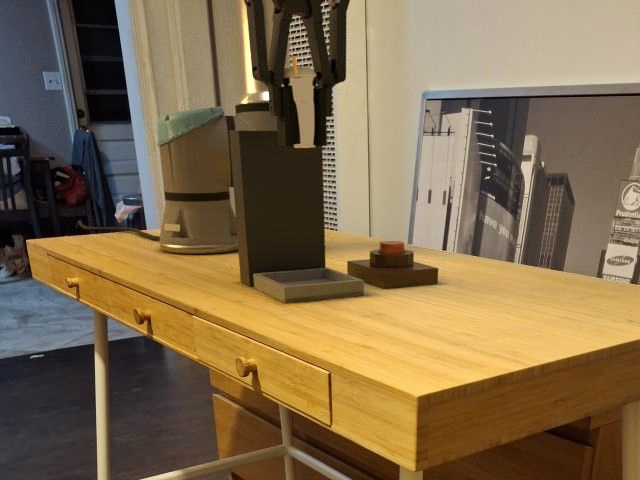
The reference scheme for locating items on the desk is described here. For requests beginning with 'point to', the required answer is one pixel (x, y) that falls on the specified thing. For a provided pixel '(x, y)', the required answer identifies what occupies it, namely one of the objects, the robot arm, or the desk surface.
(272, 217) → the coffee maker
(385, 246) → the brew button
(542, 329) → the desk surface
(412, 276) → the panel
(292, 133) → the milkshake
